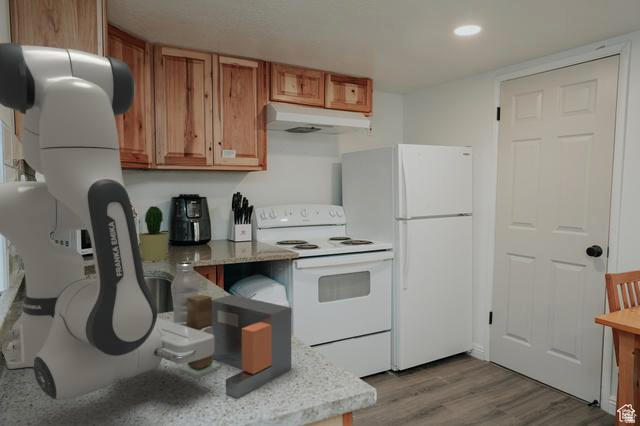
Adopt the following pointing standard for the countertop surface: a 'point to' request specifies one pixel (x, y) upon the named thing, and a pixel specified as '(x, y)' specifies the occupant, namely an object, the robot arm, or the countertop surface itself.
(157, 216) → the potted cactus
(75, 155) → the robot arm
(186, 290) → the plastic bottle
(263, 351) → the plunger
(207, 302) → the peg
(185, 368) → the pad
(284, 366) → the box
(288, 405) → the countertop surface
